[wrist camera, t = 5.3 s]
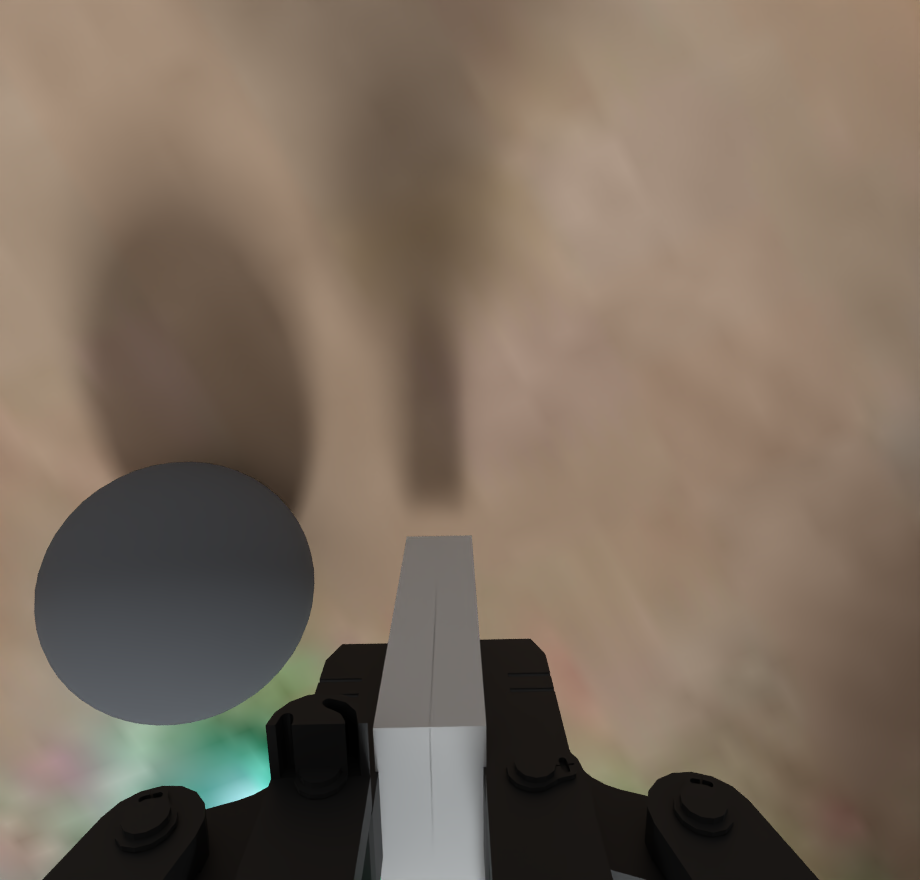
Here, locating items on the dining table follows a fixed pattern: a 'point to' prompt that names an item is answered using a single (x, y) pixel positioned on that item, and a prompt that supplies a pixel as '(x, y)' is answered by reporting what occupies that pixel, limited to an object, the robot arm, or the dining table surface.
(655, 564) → the dining table surface
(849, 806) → the dining table surface
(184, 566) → the charcoal grey ball
